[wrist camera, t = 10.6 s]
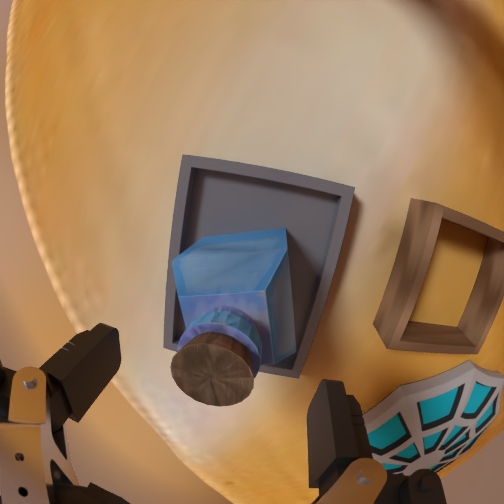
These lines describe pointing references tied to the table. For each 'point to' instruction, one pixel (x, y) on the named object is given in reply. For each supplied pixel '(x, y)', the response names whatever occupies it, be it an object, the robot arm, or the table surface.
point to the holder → (412, 277)
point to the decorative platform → (433, 419)
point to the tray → (257, 219)
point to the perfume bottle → (232, 313)
